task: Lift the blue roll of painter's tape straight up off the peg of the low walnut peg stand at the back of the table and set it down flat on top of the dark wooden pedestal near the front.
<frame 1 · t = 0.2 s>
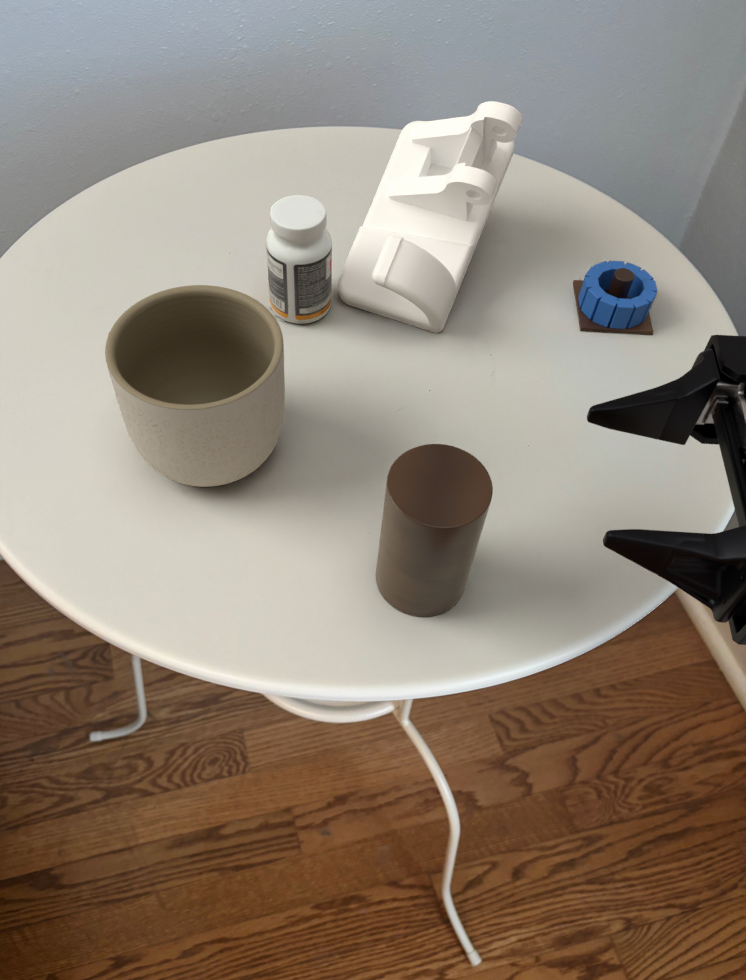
hand: (596, 472, 49), 15 cm above the table, tool horizontal, fingers open, 9 cm apart
tape dispenser: (419, 271, 80), on the table
planter: (210, 445, 68), on the table
pedestal: (420, 577, 61), on the table
pill bottle: (300, 307, 77), on the table
tape roll: (612, 305, 78), resting on peg stand
peg stand: (611, 308, 78), on the table
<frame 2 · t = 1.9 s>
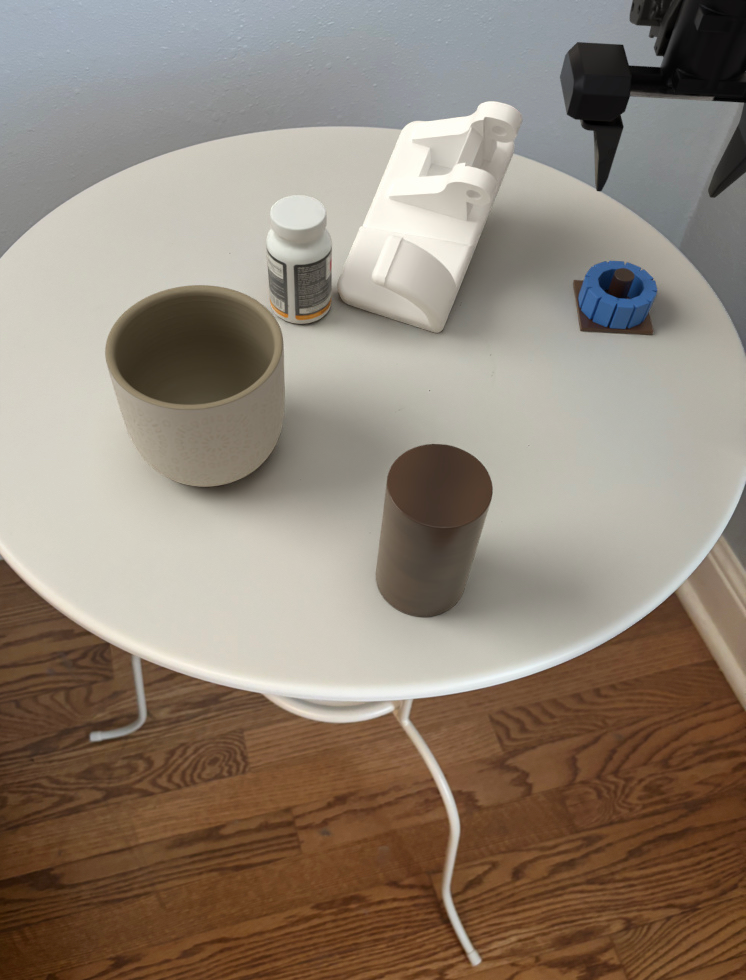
hand: (654, 191, 68), 12 cm above the table, tool pointing down, fingers open, 9 cm apart
nothing on the table moved.
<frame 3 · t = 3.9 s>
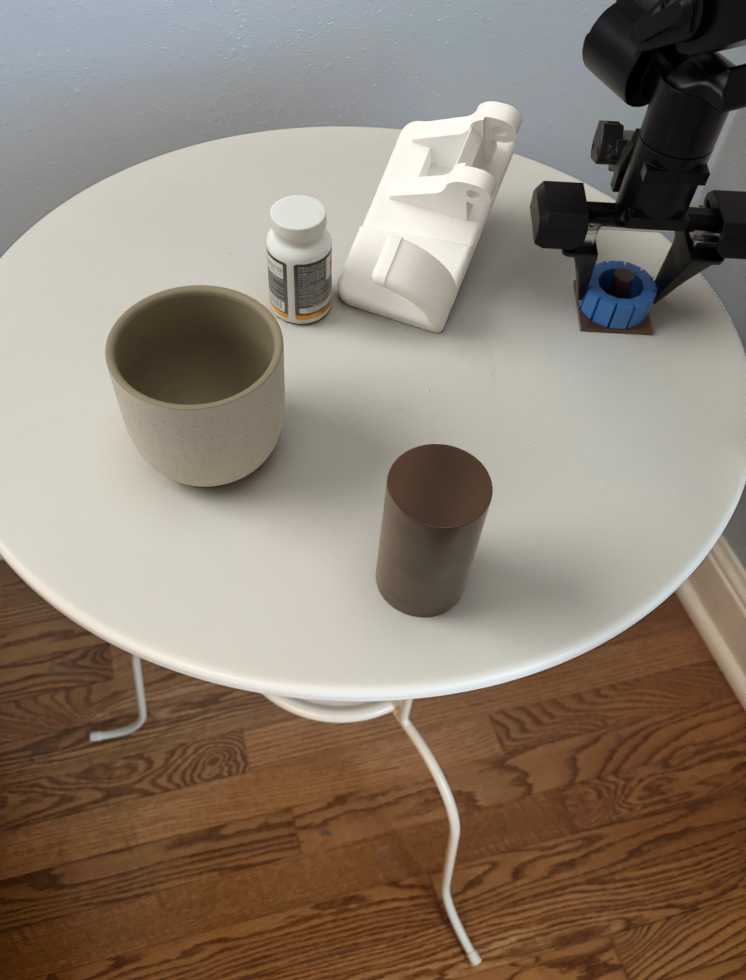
hand: (615, 299, 77), 1 cm above the table, tool pointing down, fingers closed on tape roll, 6 cm apart
tape roll: (612, 305, 78), resting on peg stand, touching gripper
everything else where it was.
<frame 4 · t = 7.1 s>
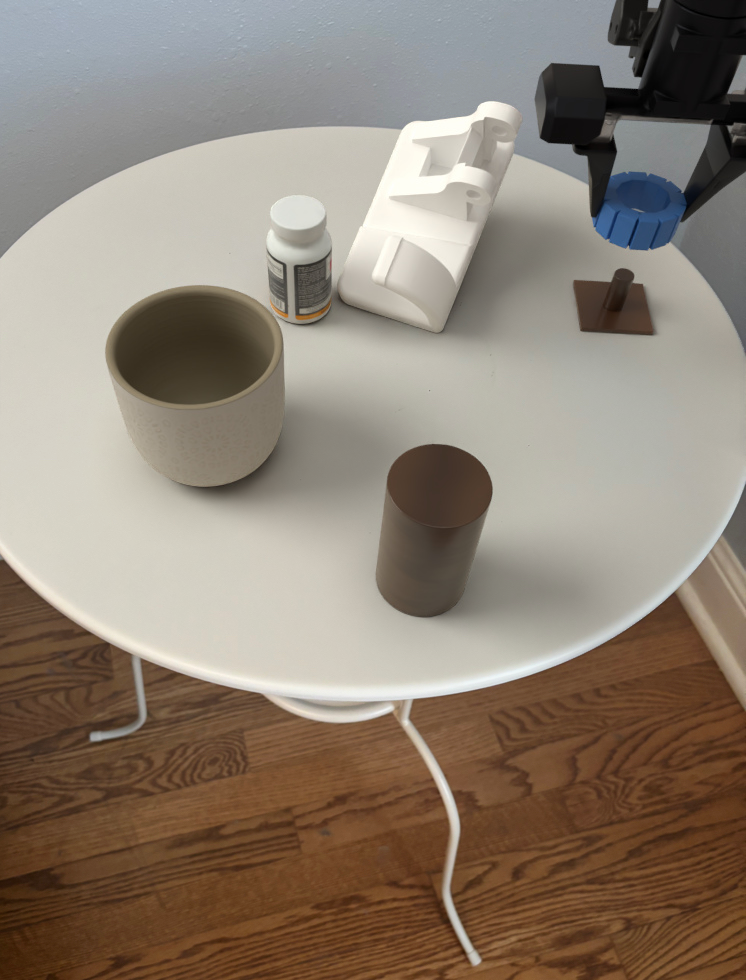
hand: (636, 216, 65), 13 cm above the table, tool pointing down, fingers closed on tape roll, 6 cm apart
tape roll: (632, 224, 66), point 12 cm above the table, touching gripper
everything else where it was.
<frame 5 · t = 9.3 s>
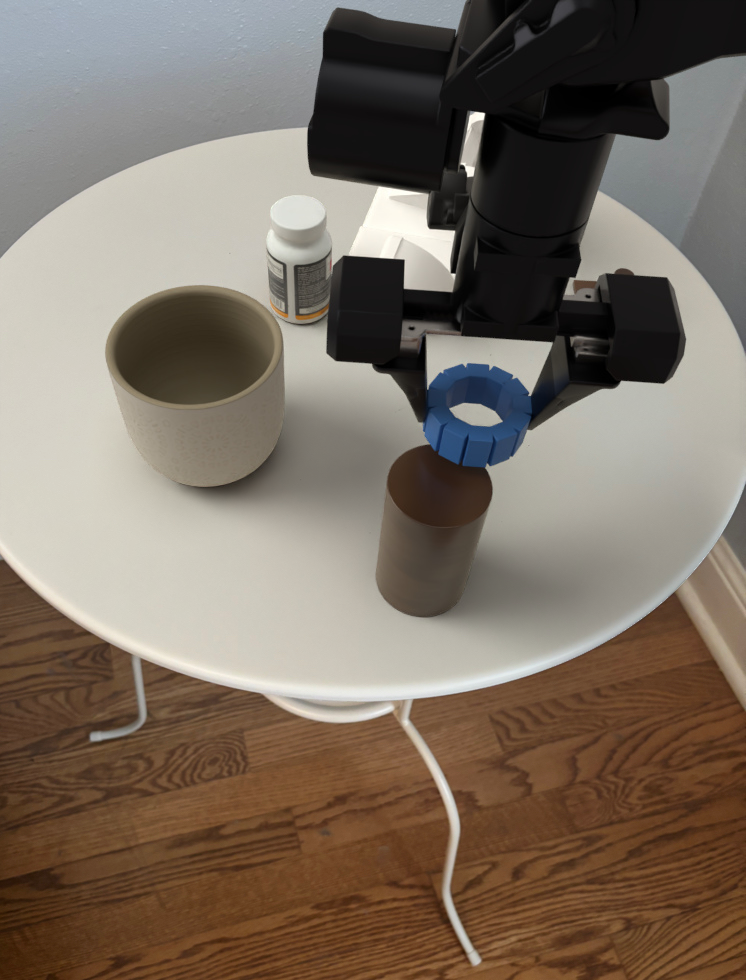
hand: (475, 420, 52), 13 cm above the table, tool pointing down, fingers closed on tape roll, 6 cm apart
tape roll: (472, 427, 53), point 12 cm above the table, touching gripper
everything else where it was.
when the fingers open (12 cm above the table, at t = 10.5 s): tape roll stays where it is, resting on pedestal.
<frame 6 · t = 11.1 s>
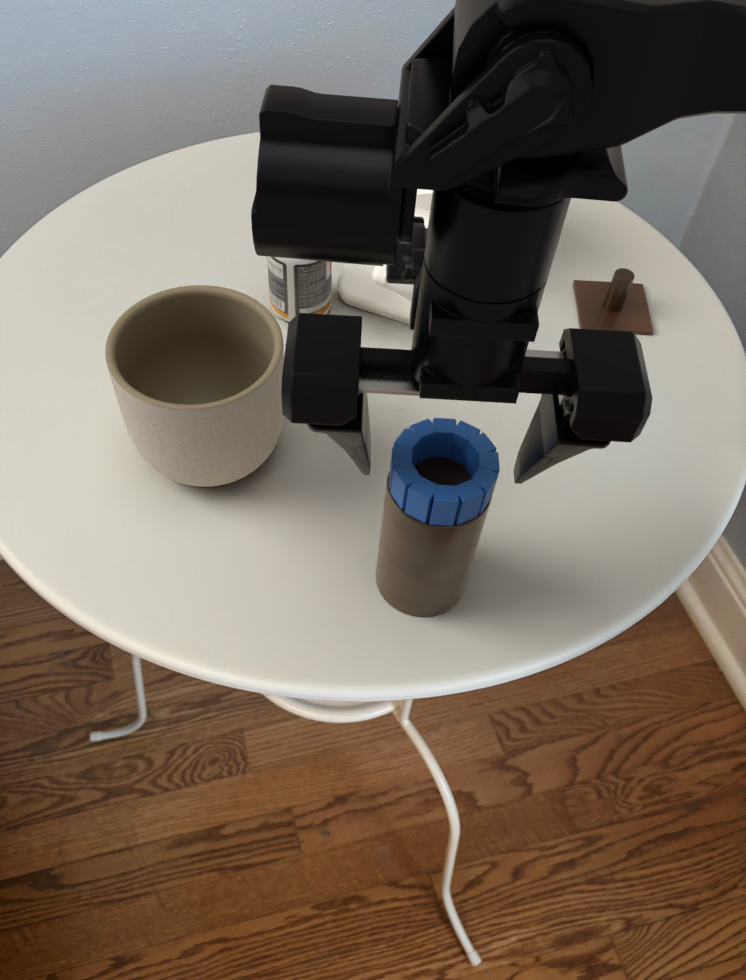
hand: (441, 473, 51), 12 cm above the table, tool pointing down, fingers open, 9 cm apart
tape roll: (440, 483, 52), point 11 cm above the table, touching pedestal
everything else where it was.
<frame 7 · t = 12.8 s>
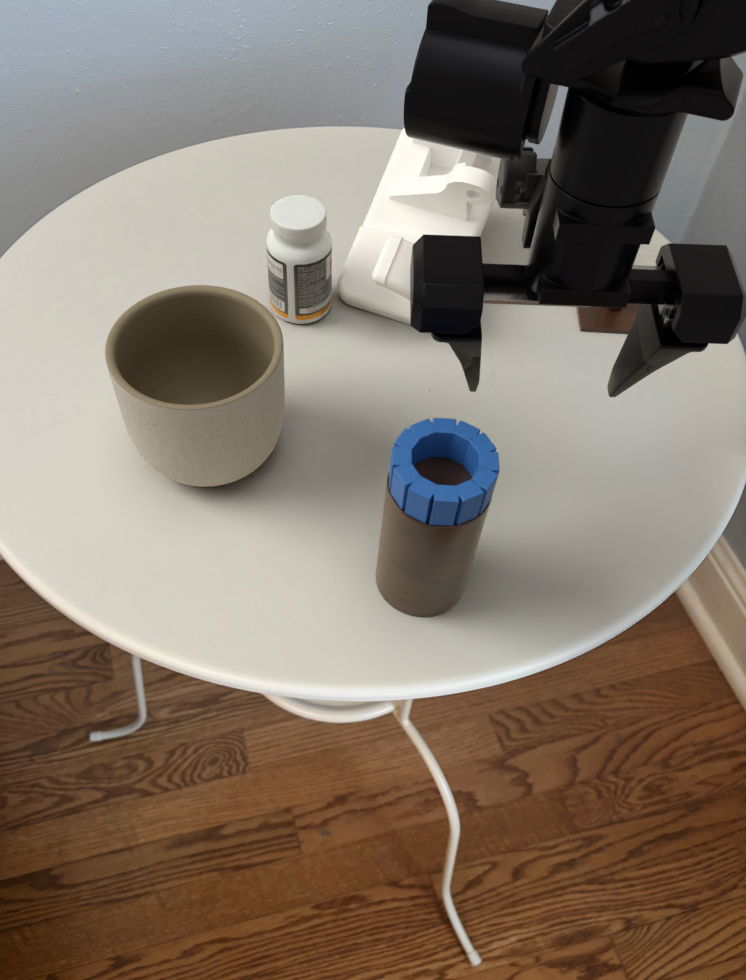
hand: (541, 389, 56), 12 cm above the table, tool pointing down, fingers open, 9 cm apart
nothing on the table moved.
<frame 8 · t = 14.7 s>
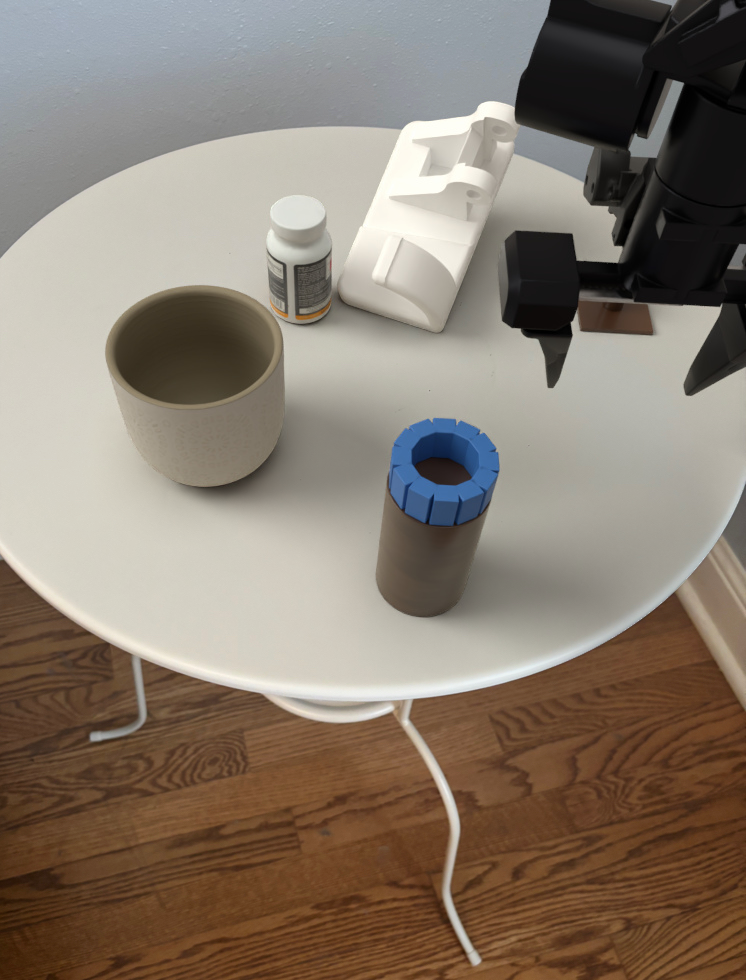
hand: (618, 387, 56), 12 cm above the table, tool pointing down, fingers open, 9 cm apart
nothing on the table moved.
at the end: tape roll 0.1 cm off-centre on the pedestal, point 11.3 cm above the pedestal's base; tape roll tilted 0°; tape roll touching pedestal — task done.
